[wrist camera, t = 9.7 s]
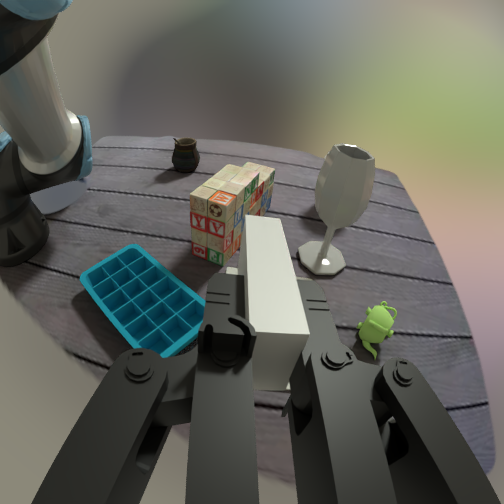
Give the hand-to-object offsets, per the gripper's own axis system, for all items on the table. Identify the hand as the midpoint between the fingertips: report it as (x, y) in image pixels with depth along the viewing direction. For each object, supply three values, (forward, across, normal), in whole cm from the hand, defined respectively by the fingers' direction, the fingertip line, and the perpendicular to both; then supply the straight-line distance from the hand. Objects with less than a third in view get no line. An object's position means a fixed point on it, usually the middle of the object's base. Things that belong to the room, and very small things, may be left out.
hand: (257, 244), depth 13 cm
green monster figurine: (+15, +21, -22) cm, 34 cm away
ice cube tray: (+19, -12, -24) cm, 33 cm away
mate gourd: (+63, -13, -16) cm, 66 cm away
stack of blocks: (+39, +1, -19) cm, 44 cm away
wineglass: (+31, +16, -20) cm, 40 cm away
